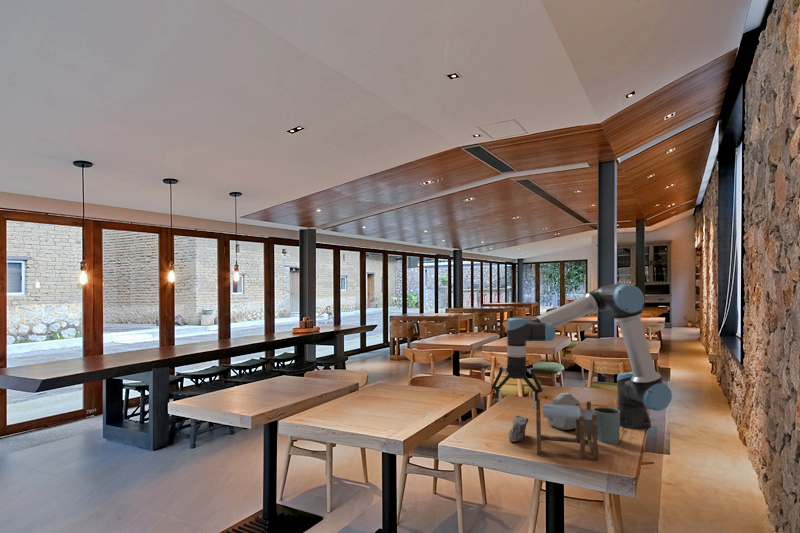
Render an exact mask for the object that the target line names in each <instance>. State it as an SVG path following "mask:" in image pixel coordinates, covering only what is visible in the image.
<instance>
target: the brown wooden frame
mask: <svg viewBox="0 0 800 533" xmlns="http://www.w3.org/2000/svg"><path fill="white" fill-rule="evenodd" d="M577 405H578V406H579V407H580V406H581V404H580V402H579V403H575V406H577ZM591 406H592V403H591V401H590V400H589V401H588V400H587V401H586V409H587V410H592V407H591ZM535 416H536V418H535V420H536V421H535V422H536V455H537V456H542V455H544V457H553V458H554V457H555V458H567V459H578V460H587V461H598V460H599V459H598V458H599V456H598V454H599V452H598V451H599V450H598V449H599V447H598V444H599V443H598V440H597V415H596V414H592V434H589V433H585V423H584V416H580V420H579V419H576V428H575V437H573V436H571V437H570V436H563V435H562V436H559V435H549V434H548V435H547V434H542V429H541V428H542V424H541V398H539V397H538V401H535ZM542 440H549V441H561V442H562V441H563V442H575V443H579V445H580V446H579V447H580V449H579V451H580V452H579V453H572V452H571V453H569V452H560V451H557V452H556V451H546V450H542ZM586 443H587V446H588V448H589V451H590V454H586Z"/></svg>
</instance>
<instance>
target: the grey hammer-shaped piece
mask: <svg viewBox="0 0 800 533" xmlns="http://www.w3.org/2000/svg"><path fill="white" fill-rule="evenodd" d="M592 414H594V411H593V409H591V410H587V408H586V409H585V408H584V409H583V408H582V409H580V407H579V406H578V405H577V406H569V405H553V404H551V403H542V415H543V416H542V417H543V418H547V417H550V418H565V419H579V420H580V416H584V423H585V434H587V433H589V434H591V435H592ZM597 434H598V420H597Z"/></svg>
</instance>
